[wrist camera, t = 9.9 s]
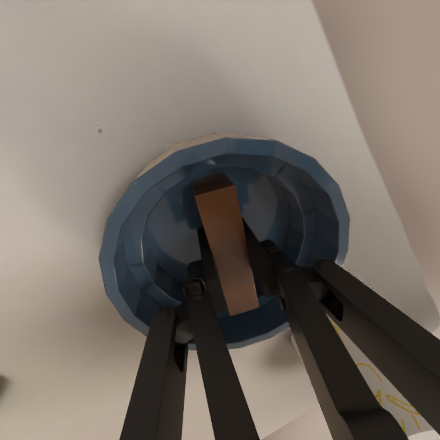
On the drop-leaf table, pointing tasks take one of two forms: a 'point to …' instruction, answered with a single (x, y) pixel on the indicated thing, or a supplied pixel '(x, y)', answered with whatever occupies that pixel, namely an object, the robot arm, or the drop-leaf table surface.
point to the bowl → (191, 221)
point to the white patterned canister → (385, 393)
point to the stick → (226, 240)
